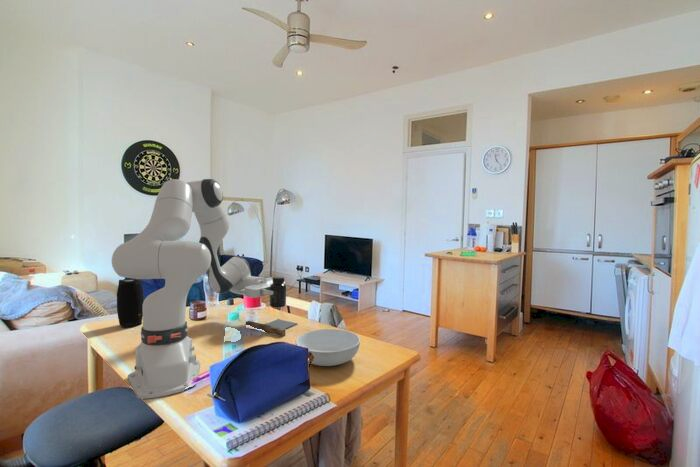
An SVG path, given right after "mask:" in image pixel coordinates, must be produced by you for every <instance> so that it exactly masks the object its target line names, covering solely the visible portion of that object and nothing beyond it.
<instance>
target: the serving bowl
mask: <svg viewBox="0 0 700 467" xmlns="http://www.w3.org/2000/svg"><path fill="white" fill-rule="evenodd" d="M360 344H361V339H360V336H359V335H357V334H356V333H354V332H352V331H348V330H345V329H338V328H337V329H336V328H325V329H315V330H311V331H308V332H305V333H303V334H300V335H298V337H297V338H296V340H295V346H296V345H297V346H302V347H307V348H308V349H309V352H311V353H313V356H314V359H313V361H312V363H310V364H312V365H315V366H321V367H332V366H338V365H342V364H345V363H347V362H349V361H351V360H352V359H353V358H354V357H355V356H356V354H357V353H358V351H359V349H360Z"/></svg>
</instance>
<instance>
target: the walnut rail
mask: <svg viewBox="0 0 700 467" xmlns="http://www.w3.org/2000/svg"><path fill="white" fill-rule="evenodd" d="M265 324H266V323H264V324H263V323H259V322H257V321H256V322H255V321H251V320H247V321H245V326H246V325H250V326H252V327H254V328H257V329H262V330H264V331H265V332H266V334H271V335H274V336H278V337H283V338H284V337H285V336H286V330H285V329H282V328H278V327H273V326H269V325H265ZM265 332H264V333H265Z"/></svg>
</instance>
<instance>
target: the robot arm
mask: <svg viewBox="0 0 700 467" xmlns="http://www.w3.org/2000/svg"><path fill="white" fill-rule="evenodd" d="M223 200H224V192H223V190H222V187H221V184H220V183H219V182H218V181H217V180H215V179H214V178H213V179H212V178H205V179H201V180H192V181H184V180H181V179H178V178H176V179H175V178H173V179H169V180H167V181H165V182H164V183H163V184H162V186H161V188H160V190H159V191H158V194H157V196H156V198H155V202H154V205H153V210H152V214H151V216H150V219H149V222H148V224H147V225H146V226H145V228H144V229H143V230H141V232H140V233H139V234H137V235H136V236H135V237H133V238H131V239H130V240H128V241H126V242H123V243H121V244H120V245H118V246H117V247H116V248H115V250H114V251H113V254H112V256H111V265H112V269H113V270H114V272H115V273H116V275H117V276H118V277H119V278H120V277H121V278H125V279H126V278H132V279H141V280H152V279H153V280H155V279H156V280H161V279H163V280H164V282H165V284H164V286H163V287H162V288H159V289H157V290H155V291H154V292H152V293H150V294H148V295H147V296H146V297H145V298H144V302H143V317H142V327H141V328H140V338H141V342H140V344H138V346H137V347H135V365H134V371H133V372H131V373H129V374H128V375H127V380H128V382H129V385H130V387H131V389H132V390H133V392H134V394H135V396H136V398H137V399H139V400H140V399H142V400H143V399H154V398H155V399H156V398H159V397H160V398H161V397H165V396H169V395H174V394H177V393H181V392H184V390H185V388H186V387H188V386H189V385H188V383H189V382H190V381H191V380H193V379H194V378H196V377H198V378H199V374H200V368H201V367H200V366H201V362H200V360H197V354H196V353H195V354H194V353H193V352H195V346H194V345H193V338H191V337H189V336H188V330H189V329H188V328H189V327H188V322H187V321H186V309H187V308H186V307H187V300H188V295H189V292H190V289H191V288H192V286H193V285H194V283H195V282H196V281H197V280H199V279H200V277H202V276H203V275H205V274H206V273H207V279H208V280H207V281H208V285H209V287H210V289H211V290H212V291H213V292H214V293H217V294H227V293H229V292H231V293H233V294H236V295H241V296H243V295H244V296H245V297H247V298H250V299H257V298H261V297H263V296H270V295H274V292H275V291H274V290H270V285H271V284H273V282H272V281H273V277H270V276H263V277H262V276H253V275H252V271H251V267H250V264H249V261H247V259H245V258H243V257H241V256H237V255H236V256H235V255H234V256H233V257H231V258H230V259H228V260H227V261H226V262H225V263H224V264H223V265H222V266H221V265H220V261H219V258H218V250H219V246H220V244H221V243H222V241H223V239H224V238H225V237H226V235H227V234H228V232H229V229H230V222H229V221H230V220H229V217H228V215H227V213H226V211H225V209H224V207H223V205H222V202H223ZM193 213H194V216H195V218H196V221H197V223H198V225H199V226H198V227H199V229H200V239H199V241H198V242H197V241H196V242H195V241H190V240H180V239H183V237H185V236H186V234H188V232H189V231H190V227H191V221H192V216H193V215H192V214H193ZM284 284H285V285H286V292H287V291H288V287H287V283H286V281H285V280H284ZM185 391H186V390H185Z"/></svg>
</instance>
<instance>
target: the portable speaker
mask: <svg viewBox="0 0 700 467" xmlns="http://www.w3.org/2000/svg"><path fill="white" fill-rule="evenodd" d="M117 285H118V286H117V290H116V311H117V319H118V323H119V326H122V328H123V329H127V328H134V327H135V325H143V302H144V300H145V298H144V296H145V295H144V288H143V283H142V279H132V278H126V277H125V278H123V279H119V280H118V284H117Z"/></svg>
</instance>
